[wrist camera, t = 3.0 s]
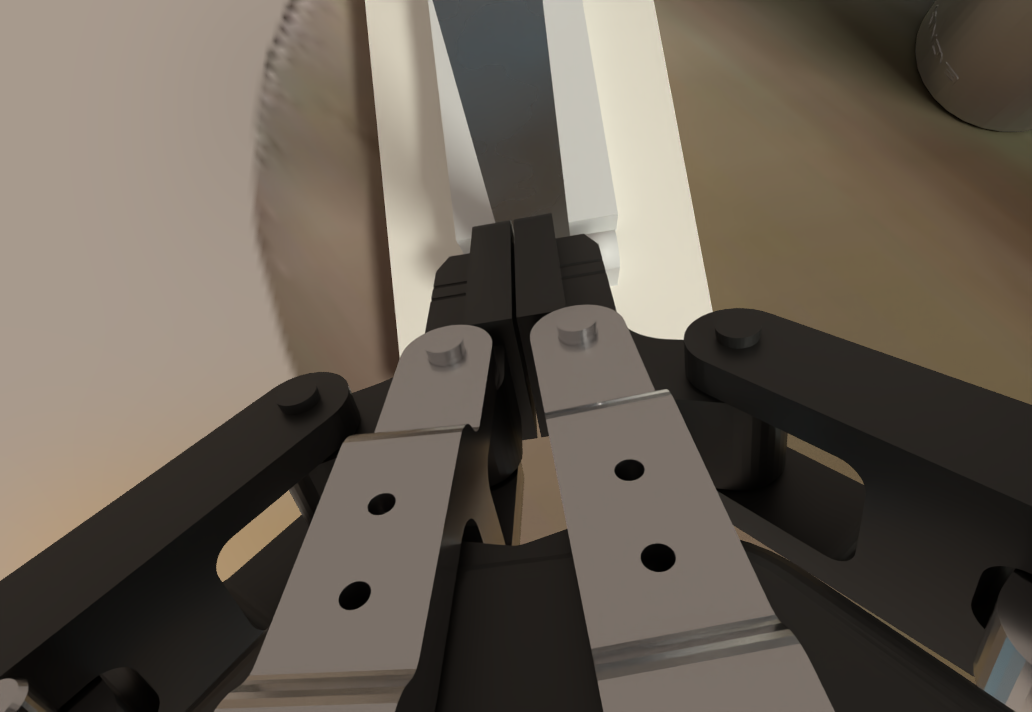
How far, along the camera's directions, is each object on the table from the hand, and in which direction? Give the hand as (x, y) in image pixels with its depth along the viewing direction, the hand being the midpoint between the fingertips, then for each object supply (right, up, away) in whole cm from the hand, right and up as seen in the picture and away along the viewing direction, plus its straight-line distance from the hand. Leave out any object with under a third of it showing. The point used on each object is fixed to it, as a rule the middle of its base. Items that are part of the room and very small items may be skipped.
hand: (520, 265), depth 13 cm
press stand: (+1, +10, +25) cm, 27 cm away
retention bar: (0, +7, +11) cm, 13 cm away
